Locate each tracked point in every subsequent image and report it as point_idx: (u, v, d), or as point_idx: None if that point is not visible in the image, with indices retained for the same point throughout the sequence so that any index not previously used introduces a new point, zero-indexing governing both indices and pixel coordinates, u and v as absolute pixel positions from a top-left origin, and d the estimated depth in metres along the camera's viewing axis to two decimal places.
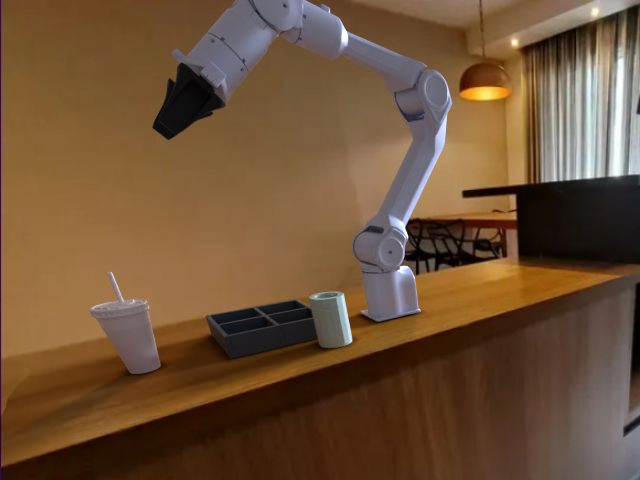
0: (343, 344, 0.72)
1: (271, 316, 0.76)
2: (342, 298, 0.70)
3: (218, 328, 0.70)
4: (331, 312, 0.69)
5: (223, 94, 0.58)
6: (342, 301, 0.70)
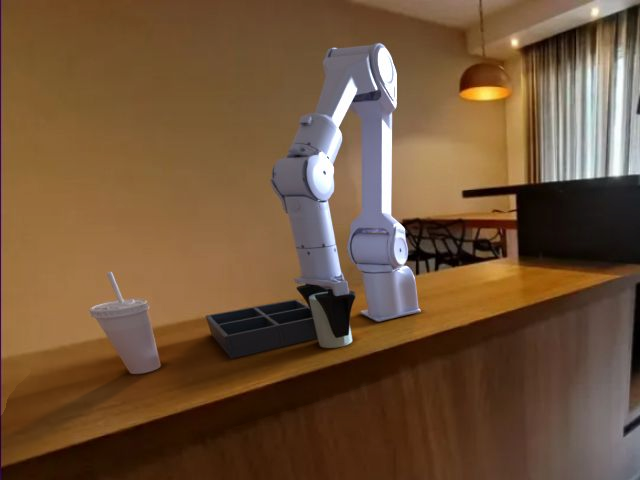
0: (343, 344, 0.72)
1: (271, 316, 0.76)
2: None
3: (218, 328, 0.70)
4: None
5: None
6: None
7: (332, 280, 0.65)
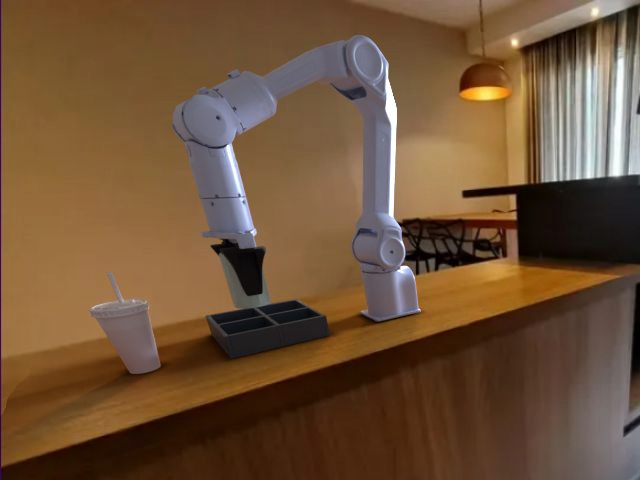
0: (259, 305, 0.68)
1: (271, 316, 0.76)
2: None
3: (218, 328, 0.70)
4: None
5: (254, 235, 0.64)
6: None
7: (239, 233, 0.61)
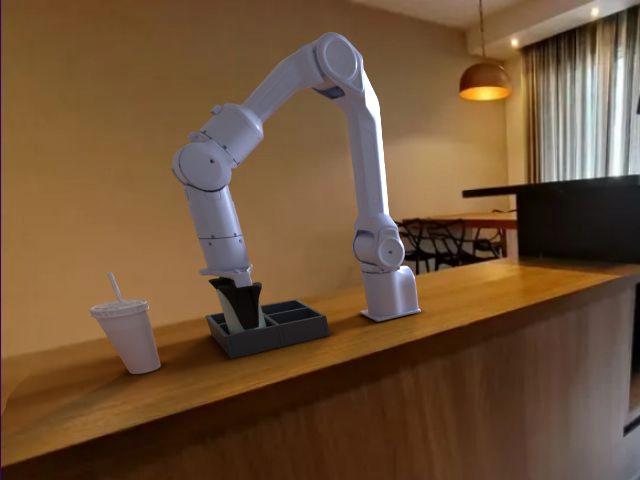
0: None
1: (271, 316, 0.76)
2: None
3: (218, 328, 0.70)
4: None
5: (250, 272, 0.67)
6: None
7: (235, 271, 0.64)
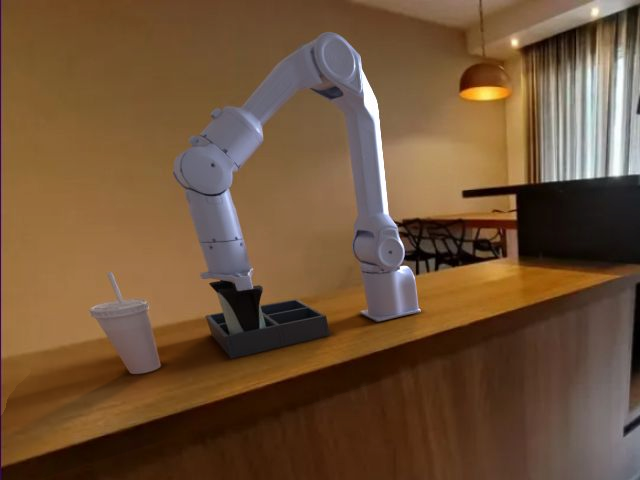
0: None
1: (271, 316, 0.76)
2: None
3: (218, 328, 0.70)
4: None
5: (251, 275, 0.67)
6: None
7: (236, 275, 0.64)
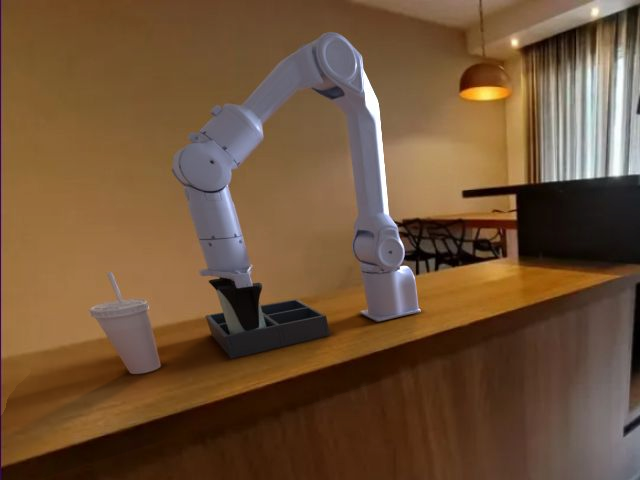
0: None
1: (271, 316, 0.76)
2: None
3: (218, 328, 0.70)
4: None
5: (250, 272, 0.67)
6: None
7: (235, 272, 0.64)
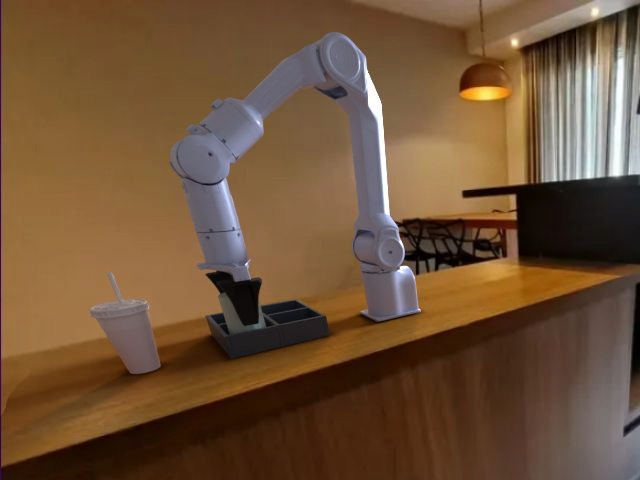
0: None
1: (271, 316, 0.76)
2: None
3: (218, 328, 0.70)
4: None
5: (248, 266, 0.66)
6: None
7: (233, 265, 0.63)
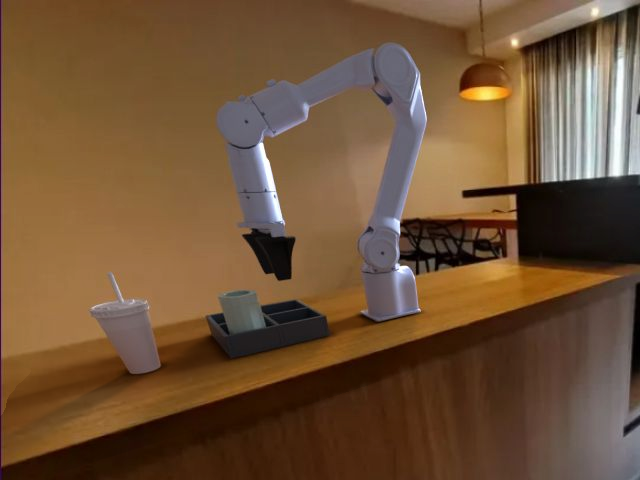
0: None
1: (271, 316, 0.76)
2: (253, 296, 0.69)
3: (218, 328, 0.70)
4: (241, 310, 0.68)
5: None
6: (253, 299, 0.69)
7: (271, 223, 0.70)
